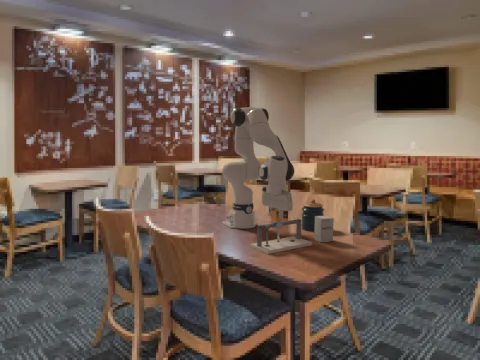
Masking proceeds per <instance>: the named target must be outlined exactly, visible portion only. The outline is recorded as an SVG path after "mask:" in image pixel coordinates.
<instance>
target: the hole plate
mask: <svg viewBox="0 0 480 360" xmlns="http://www.w3.org/2000/svg"><path fill="white" fill-rule="evenodd" d="M294 224H296V227H295V228H296V230H295V231H296V235H294V236H287V237H283V238H279V242H277V241H278V238H275V239H271V240H269V230H270V229H273V228H272V227H275V223H271V222H270V223H265V224H258V225H257V224H256V225H257V226H256V227H257V228H256V230H257V231H256V242H254V243H250V245H249V247H250V248H252V249H254V250H257V251H259V252H261V253H264V254H267V255H270V254H271V255H272V254H274V253H275V254H276V253H281V252H285V251H290V250H295V249H300V248H304V247H308V246H313V242H312V241H309V240H306V239H304V238H302V226H301V224H302V218H297V219H293V220H286V221H282V227H284V226H290V225H294ZM263 230H266V231H265V232H266V233H265V236H266V237H265V239H266V240H265V241H263V239H262V238H263V235H262V234H263Z"/></svg>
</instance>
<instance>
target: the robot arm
mask: <svg viewBox="0 0 480 360" xmlns="http://www.w3.org/2000/svg"><path fill="white" fill-rule="evenodd" d="M269 116H270V115H269V111H268V110H267V109H266V108H264V107H255V106H253V107H252V106H249V107H235V108H233V109H232V111H231V112H230V123H231V125H233V127H235V131H234V152H235V154H237V155H238V156H240V157H242V158H243V161H232V162H227V163H225V164H224V165H223V167H222V171H221V172H222V176H223V178H224V179H225V180H226V181H228V183H229V184H230V185H231V186H232V189H233V195H234V196H233V198H234V199H233V200H234V203H232V209H231V210H230V211H229V212H228V213H226V220H224V221H222V224H223V225H225V226H226V227H228V228H230V229H241V230H242V229H252V228H255V227H256V225H257V224H258V223H257V222H256V215H255V210H254V207H255V206H254V202H253V201H254V197H253V196H254V194H253V193H254V192H253V189H252V188H251V187H249V186H247V185H245V183H244V182H245V181H255V180H260V179H261V180H262V181H264V182H265V181H266V182H268V184H267V185H266V186H263V187H261V191H262V193H261V203H262V206H265V207H269V209H270V212H271V214H272V210H279V211H280V212H279V214H277V217H278V218H283V214H284V212H291V211H293V209H294V205H293V204H294V203H293V197H292V193H291V192H290V191H287V182H289V181H290V180H291V179H293V177H294V175H295V167H294V165H293V163H292V162H291V160H290V158H289V156H288V155H287V152H286V150H285V148H284V145H283V143H282V141H281V138H280V137H279V136H278V135H277V134H275V132H273V131H272V128H271V127H270V123H269V120H270V119H269V118H270V117H269ZM254 143H256V144H257V145H260V146H264V147H266V148H269V149H270V150H272V151H273V153H274V154H275V155H272V156H270V157H269V159H268V160H266V161H265V162H260V161H259V160H258V158H257V156H256V154H255V150H254V147H255V145H254Z"/></svg>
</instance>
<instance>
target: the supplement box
mask: <svg viewBox="0 0 480 360" xmlns="http://www.w3.org/2000/svg"><path fill="white" fill-rule="evenodd" d="M334 221H335V219H334V217H331V216H329V215H324V216H315V231H313V232H314V241H317V242H318V241H319V242H318V243H320V242H321V243H327V242H328V243H331V242H330V241H334V224H335V223H334Z"/></svg>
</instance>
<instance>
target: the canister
mask: <svg viewBox="0 0 480 360" xmlns="http://www.w3.org/2000/svg"><path fill="white" fill-rule="evenodd" d="M301 210H302V212H301V230H303V231H308V232H315V216H325V214H324V211H325V208H323V203H321V202H317V201H316V200H315V199H313V198H312V199H311V200H310V201H307V202H305V203H303V207H302V208H301Z"/></svg>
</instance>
